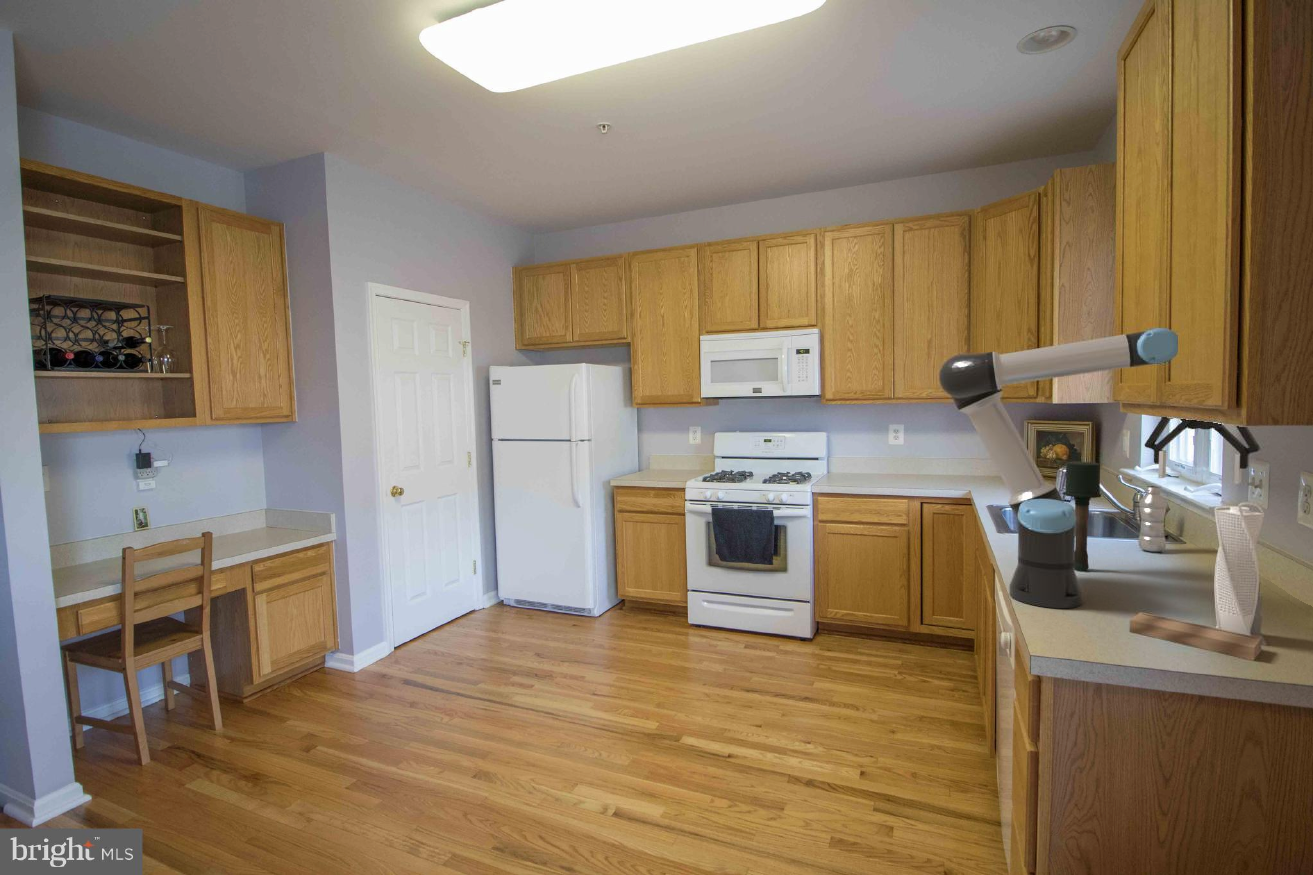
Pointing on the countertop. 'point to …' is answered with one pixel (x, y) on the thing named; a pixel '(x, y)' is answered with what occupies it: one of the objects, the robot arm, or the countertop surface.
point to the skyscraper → (1238, 571)
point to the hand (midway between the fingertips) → (1198, 480)
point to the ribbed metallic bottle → (1152, 520)
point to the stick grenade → (1082, 503)
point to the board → (1197, 635)
